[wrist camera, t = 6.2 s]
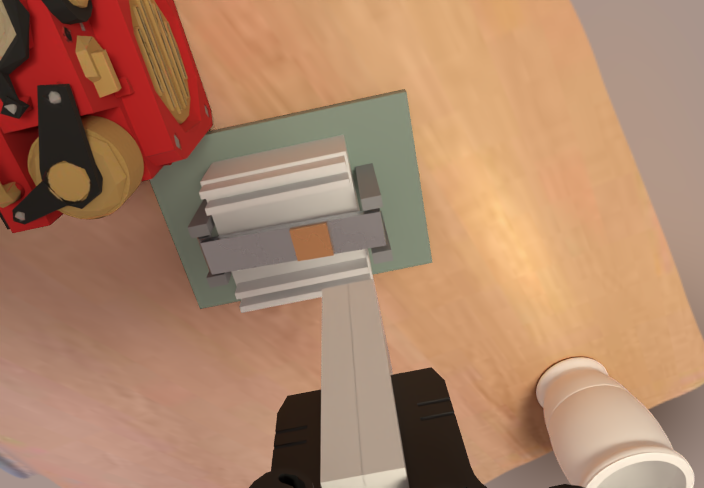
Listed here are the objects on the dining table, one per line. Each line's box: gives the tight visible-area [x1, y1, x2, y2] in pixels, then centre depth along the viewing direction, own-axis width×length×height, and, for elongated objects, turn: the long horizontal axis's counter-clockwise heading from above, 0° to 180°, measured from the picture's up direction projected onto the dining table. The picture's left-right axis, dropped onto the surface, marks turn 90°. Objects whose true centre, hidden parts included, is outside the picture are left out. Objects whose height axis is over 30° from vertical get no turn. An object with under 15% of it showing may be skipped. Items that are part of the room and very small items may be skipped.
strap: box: [197, 208, 386, 275], centre depth 43 cm, size 15×3×2 cm, turn 101°
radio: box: [0, 0, 213, 233], centre depth 35 cm, size 16×10×20 cm, turn 13°
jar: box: [536, 357, 694, 488], centre depth 55 cm, size 11×10×15 cm
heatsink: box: [150, 89, 432, 313], centre depth 46 cm, size 24×17×9 cm
